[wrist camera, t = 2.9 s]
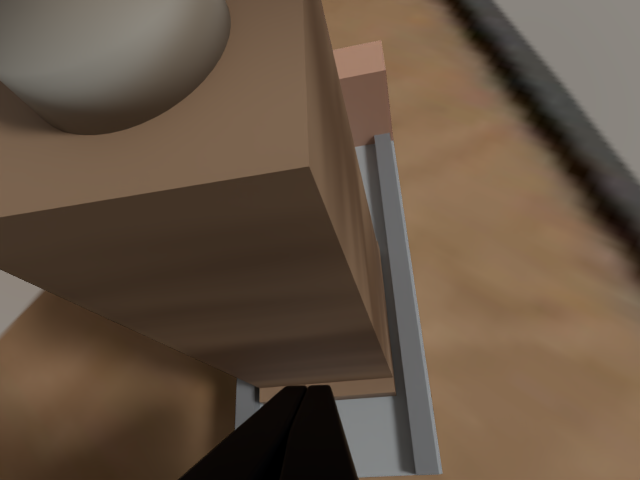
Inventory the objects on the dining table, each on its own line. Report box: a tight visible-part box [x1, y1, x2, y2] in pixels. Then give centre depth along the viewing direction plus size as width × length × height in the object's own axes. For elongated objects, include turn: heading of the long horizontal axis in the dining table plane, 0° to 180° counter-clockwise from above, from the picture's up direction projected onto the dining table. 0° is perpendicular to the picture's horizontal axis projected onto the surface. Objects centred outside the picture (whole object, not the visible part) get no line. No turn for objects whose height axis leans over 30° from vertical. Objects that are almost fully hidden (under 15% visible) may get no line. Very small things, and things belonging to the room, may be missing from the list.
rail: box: [235, 40, 442, 477], centre depth 15 cm, size 13×6×5 cm, turn 3°
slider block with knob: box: [0, 0, 396, 404], centre depth 10 cm, size 5×4×12 cm
